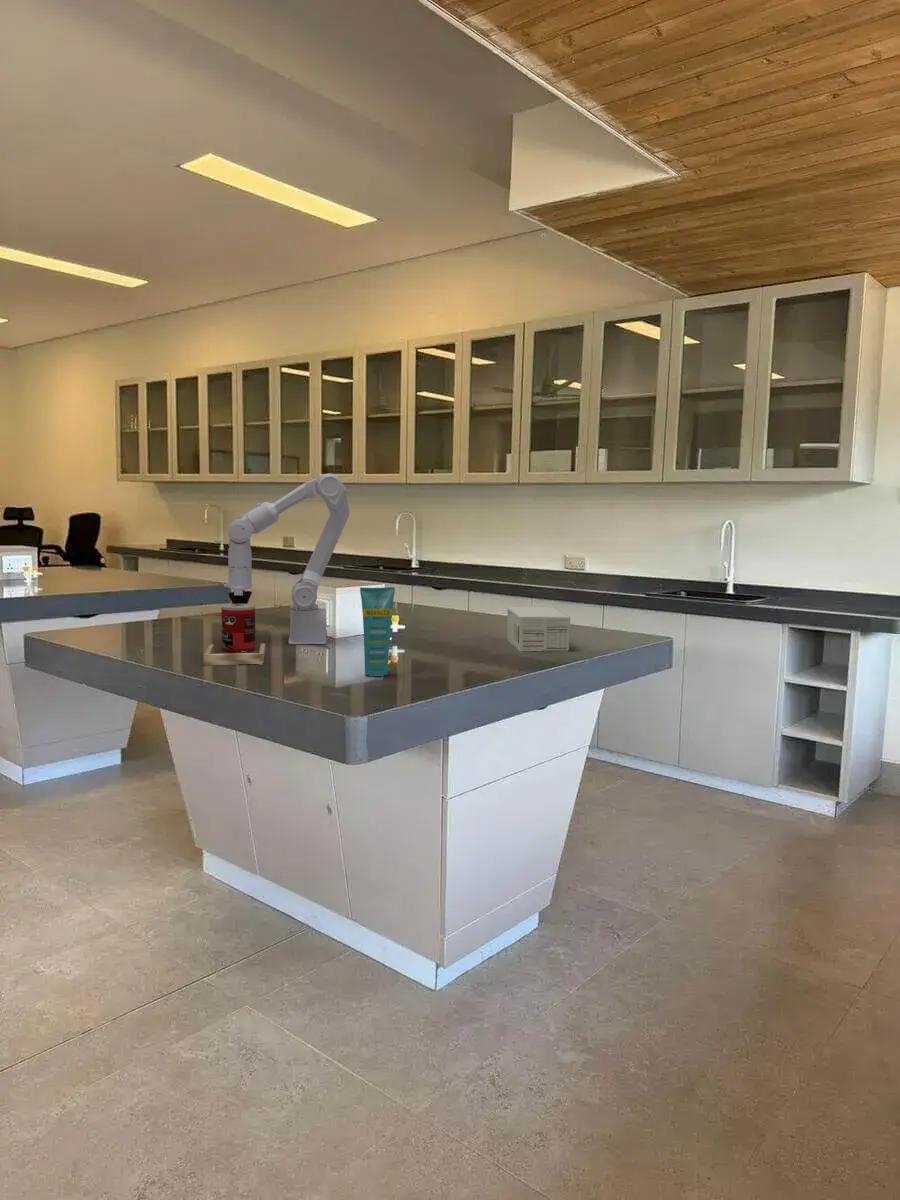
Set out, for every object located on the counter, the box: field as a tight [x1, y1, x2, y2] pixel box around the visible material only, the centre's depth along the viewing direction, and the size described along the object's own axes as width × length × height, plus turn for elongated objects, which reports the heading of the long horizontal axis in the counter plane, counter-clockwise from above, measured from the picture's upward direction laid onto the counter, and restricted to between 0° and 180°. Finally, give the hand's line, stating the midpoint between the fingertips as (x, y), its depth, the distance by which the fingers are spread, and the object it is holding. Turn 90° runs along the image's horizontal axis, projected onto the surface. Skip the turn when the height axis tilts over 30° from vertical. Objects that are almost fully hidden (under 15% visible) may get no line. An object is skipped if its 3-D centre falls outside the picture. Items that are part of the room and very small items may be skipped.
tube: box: [359, 586, 396, 677], centre depth 183 cm, size 7×5×19 cm, turn 106°
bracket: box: [203, 643, 266, 666], centre depth 198 cm, size 13×13×2 cm
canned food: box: [220, 603, 256, 653], centre depth 208 cm, size 8×8×11 cm
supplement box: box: [506, 606, 571, 652], centre depth 222 cm, size 17×13×9 cm
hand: (240, 620), depth 217 cm, fingers closed
